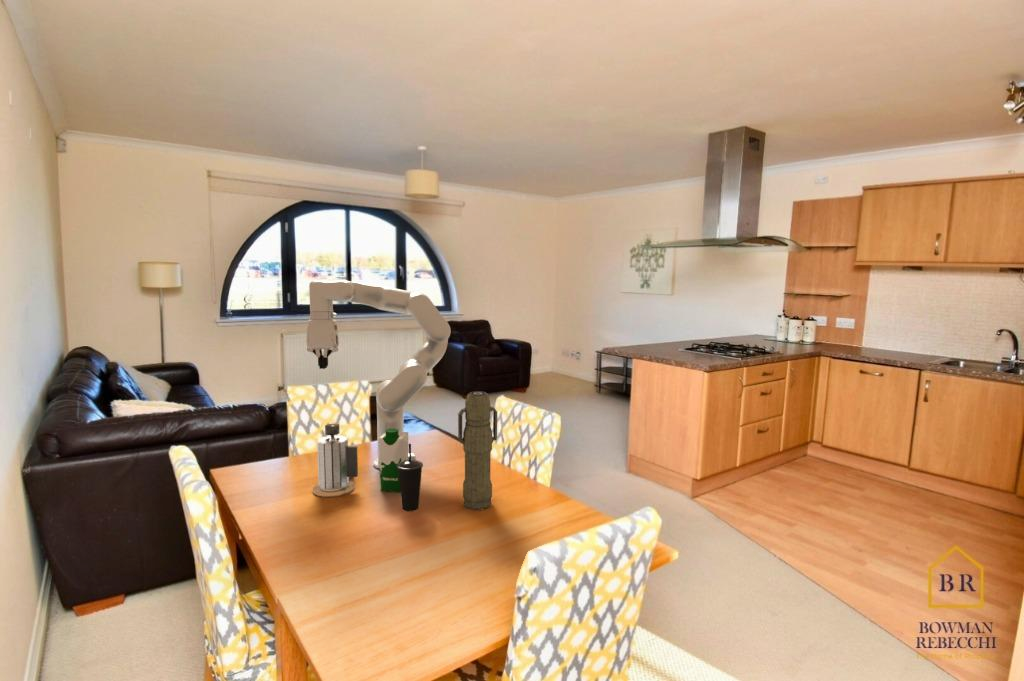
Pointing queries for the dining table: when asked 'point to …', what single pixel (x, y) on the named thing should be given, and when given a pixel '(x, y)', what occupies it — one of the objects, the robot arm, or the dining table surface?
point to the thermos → (477, 449)
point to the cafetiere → (335, 466)
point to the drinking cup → (410, 482)
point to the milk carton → (392, 458)
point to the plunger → (332, 430)
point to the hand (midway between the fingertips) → (323, 368)
